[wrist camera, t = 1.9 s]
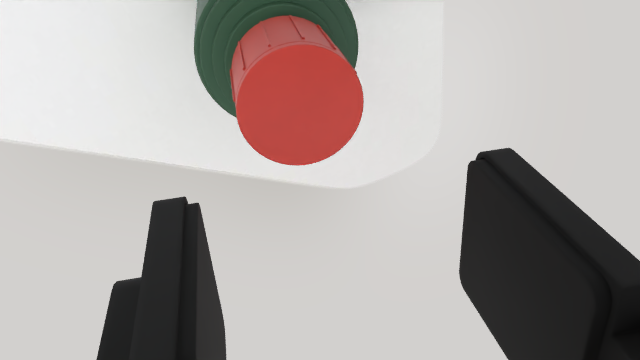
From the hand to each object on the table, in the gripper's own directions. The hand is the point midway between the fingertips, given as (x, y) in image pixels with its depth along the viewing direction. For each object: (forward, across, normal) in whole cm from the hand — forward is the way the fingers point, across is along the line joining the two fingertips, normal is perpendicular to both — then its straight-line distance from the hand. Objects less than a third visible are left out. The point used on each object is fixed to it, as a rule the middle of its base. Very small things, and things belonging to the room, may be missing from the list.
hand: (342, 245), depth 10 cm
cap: (+10, 0, 0) cm, 10 cm away
